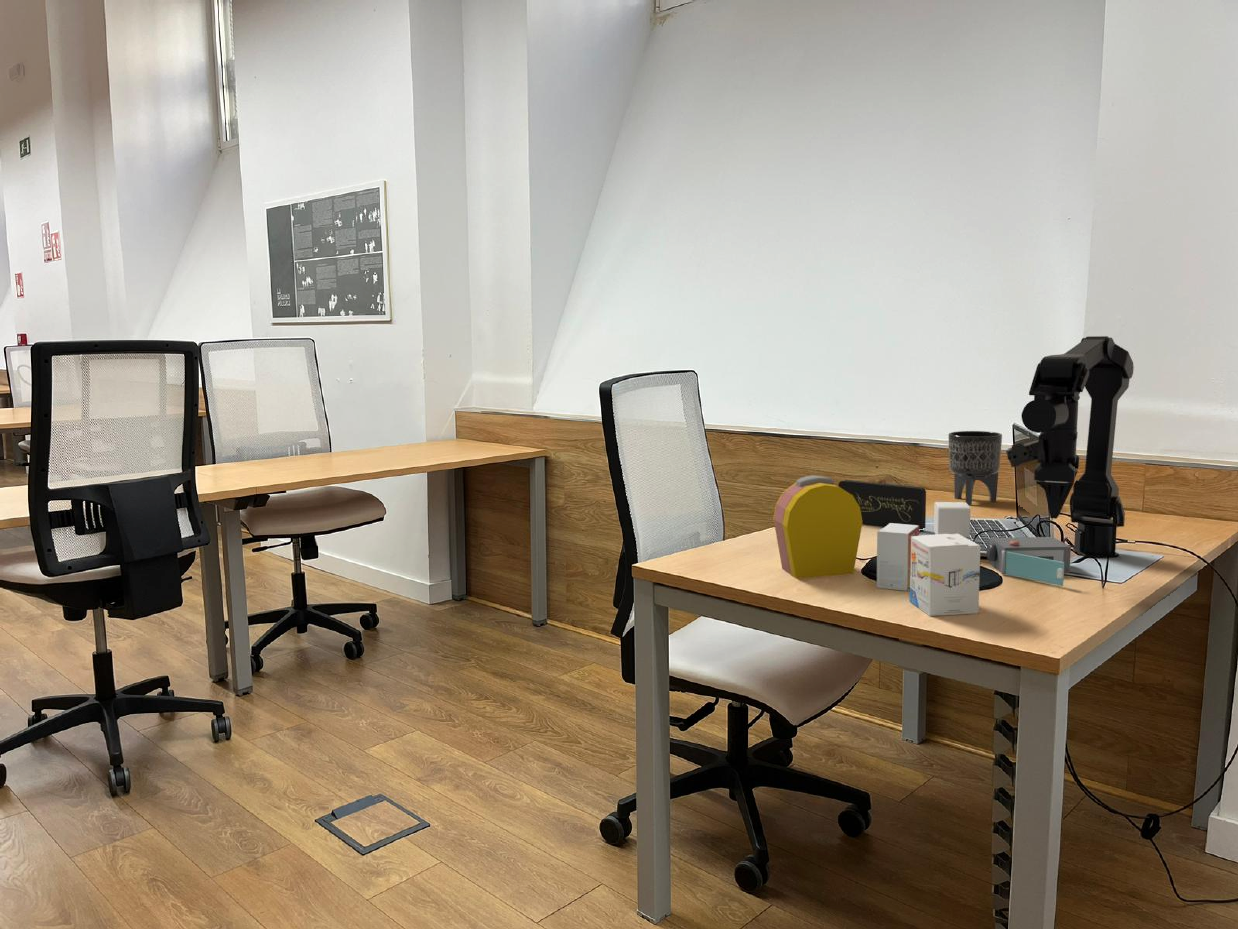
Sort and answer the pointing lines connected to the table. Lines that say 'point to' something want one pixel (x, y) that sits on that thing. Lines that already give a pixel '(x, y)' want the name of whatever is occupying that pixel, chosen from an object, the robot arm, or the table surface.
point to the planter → (974, 461)
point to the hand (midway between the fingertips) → (1055, 513)
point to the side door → (1033, 568)
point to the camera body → (1029, 549)
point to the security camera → (952, 518)
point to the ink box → (945, 574)
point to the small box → (895, 556)
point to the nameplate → (888, 503)
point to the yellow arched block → (817, 528)
